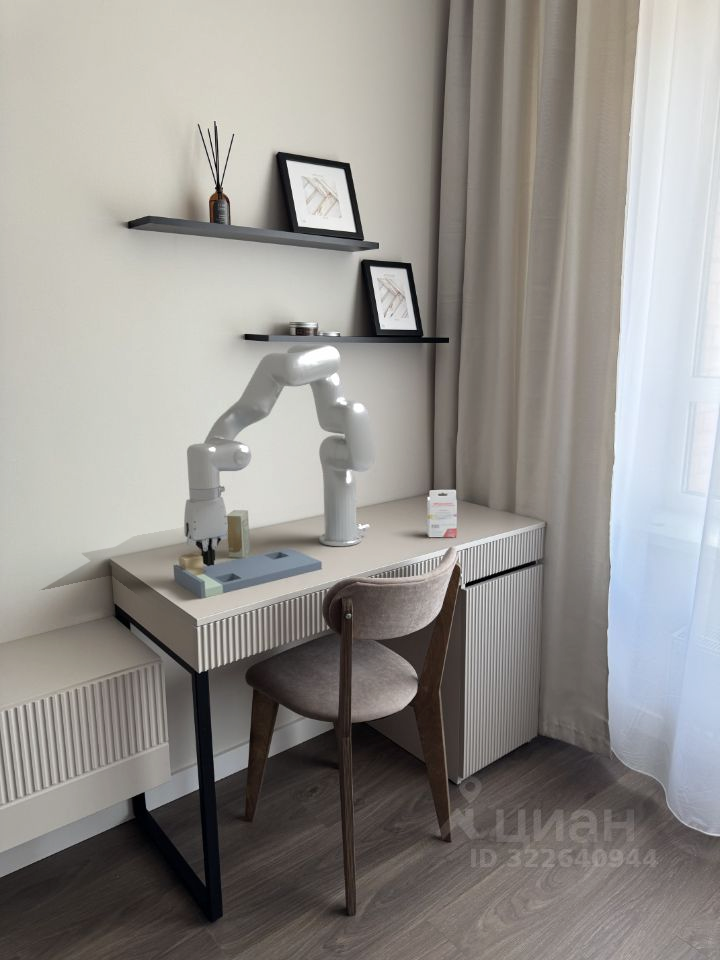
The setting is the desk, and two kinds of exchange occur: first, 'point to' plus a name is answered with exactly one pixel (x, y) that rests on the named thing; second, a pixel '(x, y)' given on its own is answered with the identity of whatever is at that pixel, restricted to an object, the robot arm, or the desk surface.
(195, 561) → the block
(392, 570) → the desk surface
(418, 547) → the desk surface
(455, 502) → the ink cartridge box
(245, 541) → the skincare box
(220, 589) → the board
